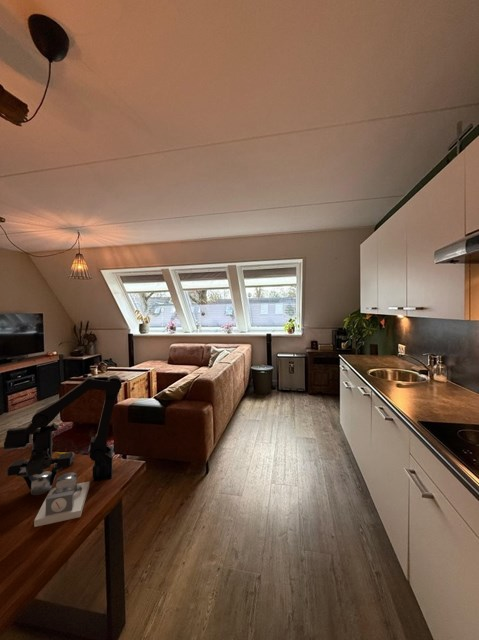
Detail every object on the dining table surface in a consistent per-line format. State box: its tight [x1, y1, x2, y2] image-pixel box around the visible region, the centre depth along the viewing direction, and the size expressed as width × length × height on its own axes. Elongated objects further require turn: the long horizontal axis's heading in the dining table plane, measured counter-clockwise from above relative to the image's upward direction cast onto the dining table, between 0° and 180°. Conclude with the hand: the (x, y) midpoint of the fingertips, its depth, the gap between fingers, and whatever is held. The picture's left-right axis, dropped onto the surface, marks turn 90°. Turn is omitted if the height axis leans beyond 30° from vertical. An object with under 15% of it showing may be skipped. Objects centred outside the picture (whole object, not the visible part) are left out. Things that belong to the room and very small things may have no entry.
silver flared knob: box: [30, 470, 53, 496], centre depth 95 cm, size 6×6×5 cm
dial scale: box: [33, 481, 91, 528], centre depth 87 cm, size 12×16×7 cm
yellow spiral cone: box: [54, 451, 76, 463], centre depth 112 cm, size 5×5×10 cm
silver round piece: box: [55, 471, 78, 494], centre depth 89 cm, size 6×6×5 cm
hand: (41, 486), depth 95 cm, fingers closed on silver flared knob, 6 cm apart
